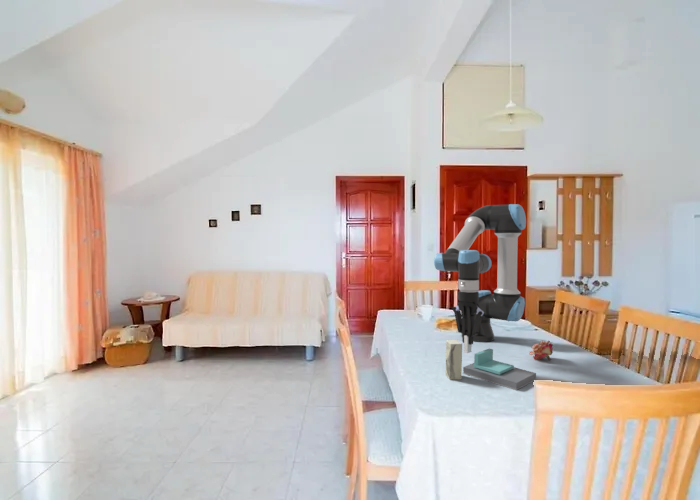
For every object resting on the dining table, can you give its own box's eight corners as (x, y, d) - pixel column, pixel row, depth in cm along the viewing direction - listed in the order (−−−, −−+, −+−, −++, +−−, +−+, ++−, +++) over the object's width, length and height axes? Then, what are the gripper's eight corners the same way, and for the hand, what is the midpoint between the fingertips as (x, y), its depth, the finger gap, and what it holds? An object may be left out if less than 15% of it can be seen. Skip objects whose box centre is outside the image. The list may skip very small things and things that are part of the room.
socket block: (463, 373, 143) (463, 367, 142) (484, 365, 152) (484, 359, 151) (516, 390, 127) (516, 382, 127) (535, 379, 136) (536, 373, 136)
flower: (557, 354, 160) (545, 336, 163) (562, 355, 152) (548, 337, 154) (536, 365, 162) (524, 348, 164) (539, 368, 153) (527, 350, 156)
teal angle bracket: (473, 367, 141) (473, 353, 141) (488, 361, 148) (488, 348, 148) (499, 374, 134) (499, 360, 134) (513, 368, 140) (514, 354, 140)
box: (445, 374, 141) (445, 339, 141) (456, 374, 141) (457, 339, 141) (450, 380, 136) (450, 343, 135) (462, 379, 136) (462, 343, 136)
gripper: (448, 289, 151) (447, 350, 151) (478, 293, 141) (477, 358, 141) (459, 288, 155) (458, 346, 156) (489, 291, 145) (488, 354, 146)
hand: (467, 352), depth 149 cm, fingers closed
